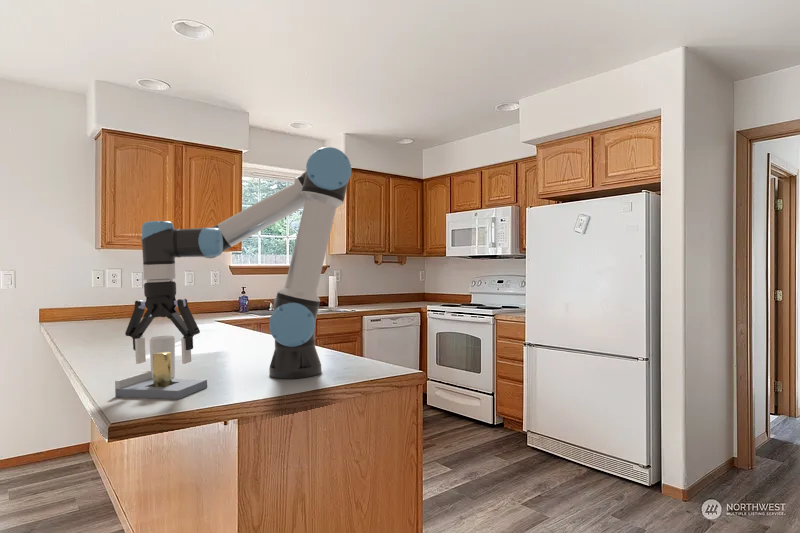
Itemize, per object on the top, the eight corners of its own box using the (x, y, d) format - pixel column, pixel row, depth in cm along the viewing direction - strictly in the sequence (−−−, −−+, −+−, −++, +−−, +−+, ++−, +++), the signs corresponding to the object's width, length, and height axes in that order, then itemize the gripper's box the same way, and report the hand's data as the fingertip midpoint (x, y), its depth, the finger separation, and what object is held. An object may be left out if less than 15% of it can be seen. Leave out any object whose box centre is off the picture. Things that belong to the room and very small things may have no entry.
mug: (170, 379, 147) (169, 338, 147) (146, 380, 146) (145, 339, 146) (182, 372, 157) (181, 333, 157) (160, 373, 156) (159, 334, 156)
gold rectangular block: (175, 390, 134) (174, 352, 134) (164, 394, 130) (163, 355, 130) (161, 389, 135) (160, 351, 135) (149, 393, 131) (148, 354, 131)
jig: (207, 387, 136) (206, 372, 136) (178, 399, 125) (178, 382, 125) (148, 385, 140) (148, 371, 140) (115, 396, 128) (115, 380, 128)
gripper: (211, 278, 133) (215, 359, 133) (129, 282, 139) (132, 360, 139) (194, 280, 126) (197, 365, 126) (107, 283, 131) (111, 365, 131)
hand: (163, 362), depth 132 cm, fingers open, 13 cm apart
